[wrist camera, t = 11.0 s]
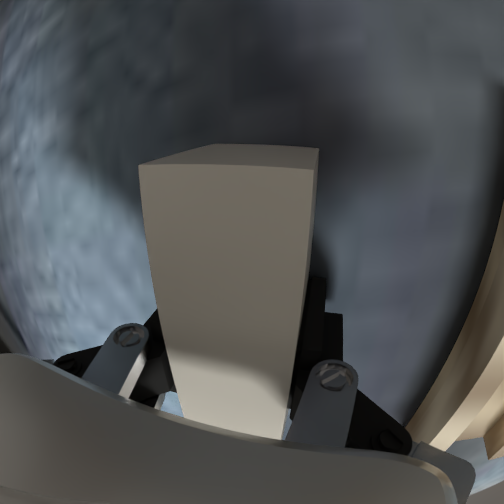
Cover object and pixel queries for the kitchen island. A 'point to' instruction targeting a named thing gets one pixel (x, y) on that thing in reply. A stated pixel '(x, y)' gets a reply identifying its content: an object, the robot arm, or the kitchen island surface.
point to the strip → (231, 275)
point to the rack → (471, 372)
